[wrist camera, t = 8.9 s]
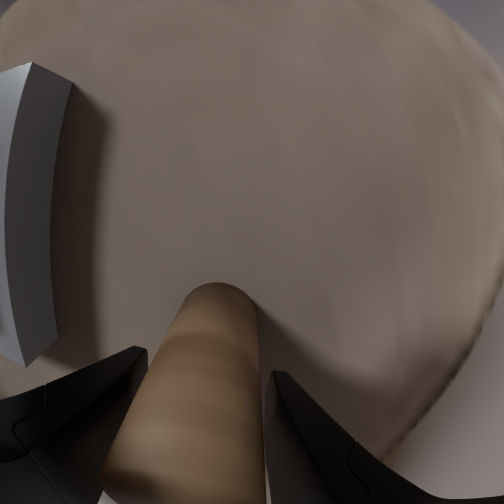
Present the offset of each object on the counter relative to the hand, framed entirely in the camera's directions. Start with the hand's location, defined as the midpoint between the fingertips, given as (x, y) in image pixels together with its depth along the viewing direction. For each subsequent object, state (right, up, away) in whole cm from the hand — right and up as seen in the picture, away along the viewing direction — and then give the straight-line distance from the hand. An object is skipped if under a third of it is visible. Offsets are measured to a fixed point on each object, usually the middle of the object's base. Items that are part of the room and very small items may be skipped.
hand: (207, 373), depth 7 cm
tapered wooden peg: (0, +1, +3) cm, 4 cm away
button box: (-13, +6, +2) cm, 15 cm away
